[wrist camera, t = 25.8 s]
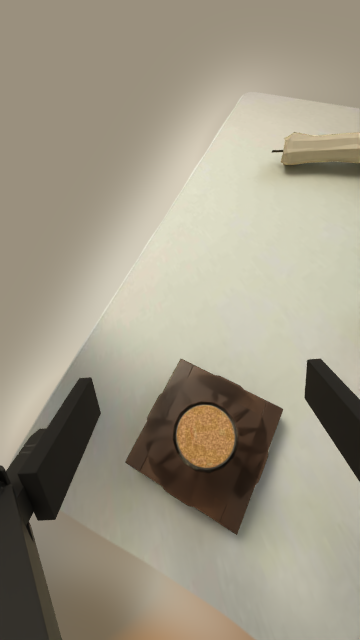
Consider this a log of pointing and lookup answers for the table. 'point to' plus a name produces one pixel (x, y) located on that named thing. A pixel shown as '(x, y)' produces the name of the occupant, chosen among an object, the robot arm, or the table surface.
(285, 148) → the faceted club
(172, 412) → the socket plate
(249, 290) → the table surface
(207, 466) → the bottle
